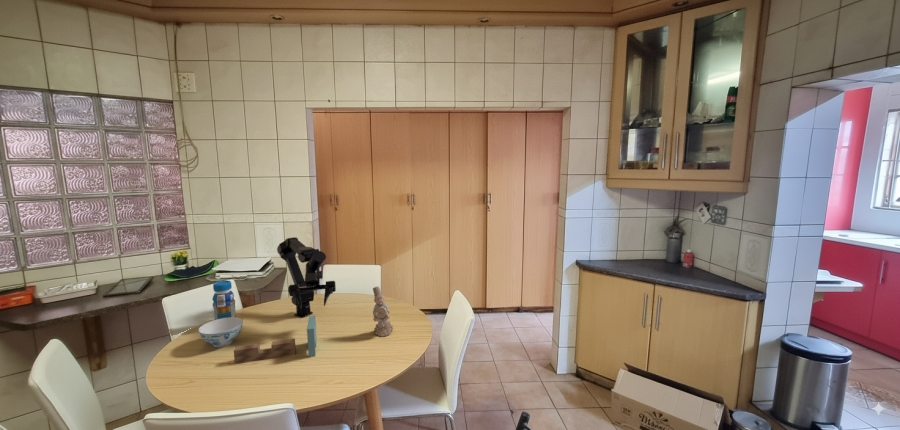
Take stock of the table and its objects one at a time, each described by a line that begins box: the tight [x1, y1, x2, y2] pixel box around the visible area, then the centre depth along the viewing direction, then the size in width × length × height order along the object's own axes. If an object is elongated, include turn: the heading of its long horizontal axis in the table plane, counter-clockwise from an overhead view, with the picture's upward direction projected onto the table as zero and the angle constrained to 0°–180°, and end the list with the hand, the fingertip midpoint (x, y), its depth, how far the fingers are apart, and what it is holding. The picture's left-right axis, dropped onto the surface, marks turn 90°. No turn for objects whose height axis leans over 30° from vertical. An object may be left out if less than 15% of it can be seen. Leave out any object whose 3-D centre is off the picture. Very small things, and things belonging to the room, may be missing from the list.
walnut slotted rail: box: [233, 338, 297, 364], centre depth 131 cm, size 20×3×5 cm, turn 108°
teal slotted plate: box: [306, 315, 318, 358], centre depth 137 cm, size 12×2×11 cm, turn 18°
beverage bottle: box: [212, 280, 237, 320], centre depth 157 cm, size 8×8×20 cm
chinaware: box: [198, 316, 244, 348], centre depth 142 cm, size 15×15×8 cm
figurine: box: [372, 285, 394, 337], centre depth 150 cm, size 9×8×20 cm
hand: (312, 306), depth 147 cm, fingers open, 9 cm apart
